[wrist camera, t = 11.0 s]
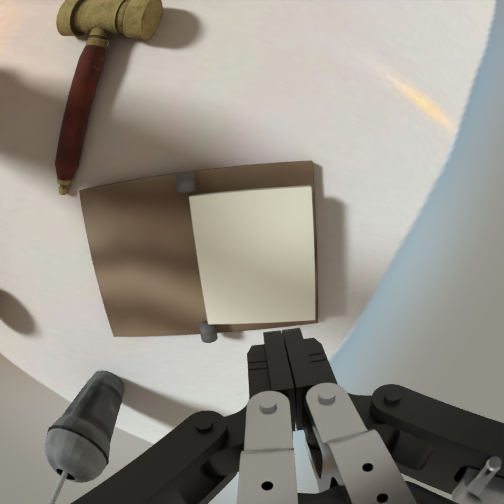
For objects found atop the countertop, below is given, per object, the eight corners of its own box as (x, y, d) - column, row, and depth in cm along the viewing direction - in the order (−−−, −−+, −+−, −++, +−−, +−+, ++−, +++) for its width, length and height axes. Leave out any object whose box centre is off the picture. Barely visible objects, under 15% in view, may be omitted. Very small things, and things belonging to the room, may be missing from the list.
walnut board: (83, 189, 27) (70, 193, 25) (310, 160, 27) (317, 161, 25) (116, 332, 32) (108, 345, 29) (315, 318, 32) (321, 331, 29)
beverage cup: (80, 387, 35) (21, 499, 16) (87, 352, 33) (12, 475, 14) (127, 411, 36) (86, 532, 17) (140, 378, 34) (90, 516, 15)
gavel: (92, 211, 25) (15, 190, 24) (112, 200, 29) (39, 182, 28) (155, -12, 18) (66, -9, 17) (167, 6, 22) (85, 4, 21)
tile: (311, 186, 24) (309, 185, 26) (188, 196, 25) (193, 194, 27) (315, 320, 28) (313, 313, 29) (208, 324, 29) (210, 317, 30)
